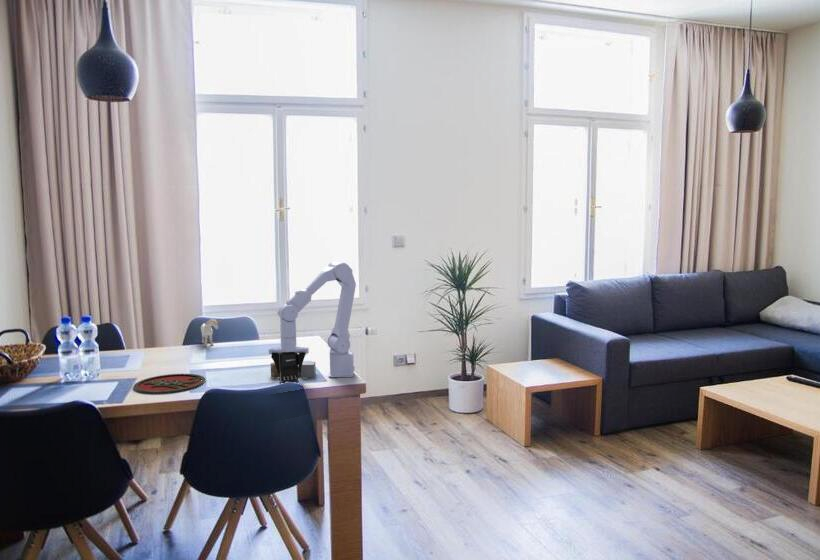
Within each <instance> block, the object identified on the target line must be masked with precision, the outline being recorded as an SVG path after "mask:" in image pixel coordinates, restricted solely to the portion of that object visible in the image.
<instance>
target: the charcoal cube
mask: <svg viewBox="0 0 820 560" xmlns="http://www.w3.org/2000/svg"><path fill="white" fill-rule="evenodd" d="M316 373H317V371H316V361H303V363H302V367H301V376H300V377H301V378H315V377H314V376H316Z"/></svg>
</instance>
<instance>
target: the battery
mask: <svg viewBox="0 0 820 560" xmlns="http://www.w3.org/2000/svg"><path fill="white" fill-rule="evenodd" d="M298 354H299V353H295V352H283V353H281V354H280V355H279V365H280V378H279V379H280V380H279V381H280V382H282V383H287V382H286V381H292V382H298V381H299V376H298V365H299V363H298Z"/></svg>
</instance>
